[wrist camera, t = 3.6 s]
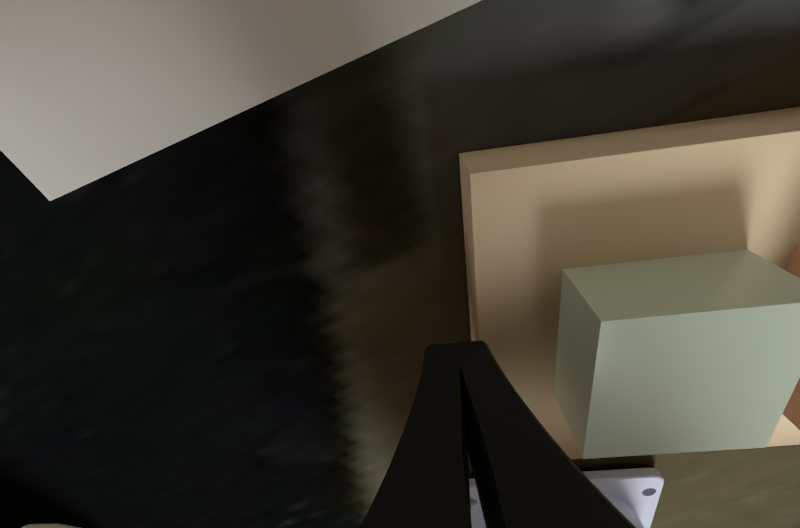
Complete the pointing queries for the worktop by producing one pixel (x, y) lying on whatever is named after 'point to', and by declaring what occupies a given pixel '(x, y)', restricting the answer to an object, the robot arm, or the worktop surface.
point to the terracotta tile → (796, 408)
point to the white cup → (48, 525)
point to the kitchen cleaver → (166, 70)
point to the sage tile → (676, 353)
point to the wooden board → (616, 225)
